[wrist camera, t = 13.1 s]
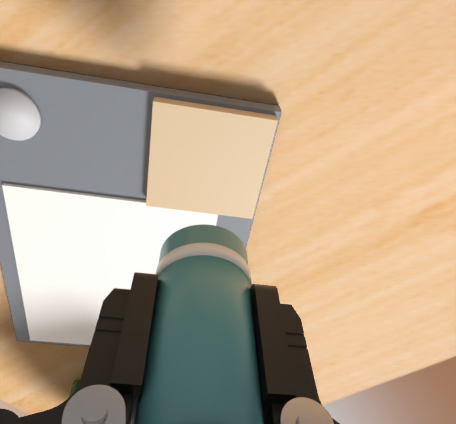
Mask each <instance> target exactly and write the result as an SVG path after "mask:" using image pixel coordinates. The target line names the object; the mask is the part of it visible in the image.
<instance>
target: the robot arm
mask: <svg viewBox="0 0 456 424" xmlns="http://www.w3.org/2000/svg"><path fill="white" fill-rule="evenodd" d="M158 276H159V274H149V273H139V272H135V273H134V276H133V281H132V285H131V290H130V289H119V288H114V289H113V290H112V291H111V292H110V294H109V295H108V296H107V297H106V298H105V299H104V300H103V303H102V307H101V310H100V314H99V318H98V321H97V324H96V328H95V332H94V335H93V338H92V342H91V345H90V349H89V352H88V356H87V359H86V363H85V366H84V370H83V373H82V377H81V380H80V383H79V385H78V387H77V389H76V390H75V392H74V393H73V394H72V395H71V396H70V397H69V398H68V399H67V400H66V401H65V402H63V403H62V404H60V405H59V406H57V407H55V408H52V409H50V410H47V411H43V412H39V413H35V414H32V415H28V416H24V417H20V418H19V417H18V416H17V415H16V414H15V413H13V412H12V411H9V410H6V409H0V424H134V420H135V413H136V408H137V405H138V403H139V401H140V399H141V393H142V386H143V379H144V373H145V366H146V359H147V352H148V345H149V339H150V332H151V325H152V318H153V311H154V304H155V298H156V291H157V284H158ZM250 290H251V300H252V310H253V320H254V330H255V340H256V350H257V360H258V370H259V380H260V390H261V400H262V410H263V420H264V424H339V423H338V422H336V421H335V420H334V419H333V418H332V417H331V416H330V414H329V413H328V411H327V410H326V409H325V408H324V407H323V406H322V404H321V402H320V400H319V397H318V393H317V389H316V384H315V380H314V376H313V371H312V367H311V362H310V358H309V354H308V349H307V345H306V340H305V337H304V332H303V327H302V323H301V319H300V317H299V316H298V314H297V313H296V311H295V310H294V308H293V307H292V305H288V304H280V301H279V296H278V290H277V288H276V286H268V285H258V284H252V286H251V288H250Z"/></svg>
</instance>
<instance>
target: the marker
mask: <svg viewBox="0 0 456 424" xmlns="http://www.w3.org/2000/svg"><path fill="white" fill-rule="evenodd" d="M155 274H159V276H158V284H157V291H156V298H155V304H154V311H153V318H152V325H151V332H150V339H149V345H148V352H147V359H146V366H145V373H144V379H143V386H142V393H141V399H140V401H139V403H138V405H137V408H136V413H135V420H134V424H264V420H263V410H262V400H261V390H260V380H259V370H258V360H257V350H256V340H255V330H254V320H253V310H252V300H251V290H250V288H251V286H252V284H251V274H250V269H249V267H248V260H247V251H246V248H245V246H244V244H243V242H242V241H241V240H240V239H239V237H237V236H236V235H235V234H234V233H232V232H231V231H229V230H227V229H225V228H222V227H219V226H214V225H207V224H200V225H192V226H188V227H184V228H182V229H180V230H178V231H176V232H174V233H173V234H172V235H170V236H169V237H168V238H167V239H166V241H165V242H164V243H163V245H162V247H161V251H160V257H159V263H158V266H157V269H156V273H155Z"/></svg>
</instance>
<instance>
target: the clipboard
mask: <svg viewBox="0 0 456 424" xmlns="http://www.w3.org/2000/svg"><path fill="white" fill-rule="evenodd" d="M280 116H281V109H280V106H278V105H272V104H266V103H259V102H253V101H247V100H240V99H234V98H228V97H222V96H215V95H209V94H203V93H197V92H190V91H184V90H178V89H171V88H165V87H159V86H153V85H146V84H140V83H134V82H127V81H121V80H115V79H109V78H102V77H96V76H90V75H83V74H77V73H71V72H65V71H58V70H52V69H46V68H40V67H33V66H27V65H21V64H14V63H8V62H2V61H0V264H1V269H2V273H3V278H4V283H5V287H6V292H7V297H8V302H9V306H10V311H11V316H12V320H13V325H14V330H15V334H16V339H17V341H20V342H33V343H46V344H58V345H71V346H84V347H90V345H91V342H92V338H93V335H94V332H95V328H96V324H97V321H98V318H99V314H100V310H101V307H102V303H103V300H104V299H105V298H106V297H107V296H108V295H109V294H110V292H111V291H112V290H113V289H114V288H119V289H130V290H131V285H132V281H133V276H134V273H135V272H139V273H149V274H155V273H156V269H157V266H158V263H159V257H160V251H161V247H162V245H163V243H164V242H165V241H166V239H167V238H168V237H169V236H170V235H172V234H173V233H174V232H176V231H178V230H180V229H182V228H184V227H188V226H192V225H200V224H207V225H214V226H219V227H222V228H225V229H227V230H229V231H231V232H232V233H234V234H235V235H236V236H237V237H239V239H240V240H241V241H242V242H243V244H244V246H245V248H246V246H247V242H248V238H249V234H250V231H251V227H252V223H253V219H254V215H255V212H256V208H257V204H258V200H259V196H260V192H261V189H262V185H263V181H264V177H265V173H266V170H267V166H268V162H269V158H270V154H271V150H272V147H273V143H274V139H275V135H276V131H277V128H278V124H279V120H280Z"/></svg>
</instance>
